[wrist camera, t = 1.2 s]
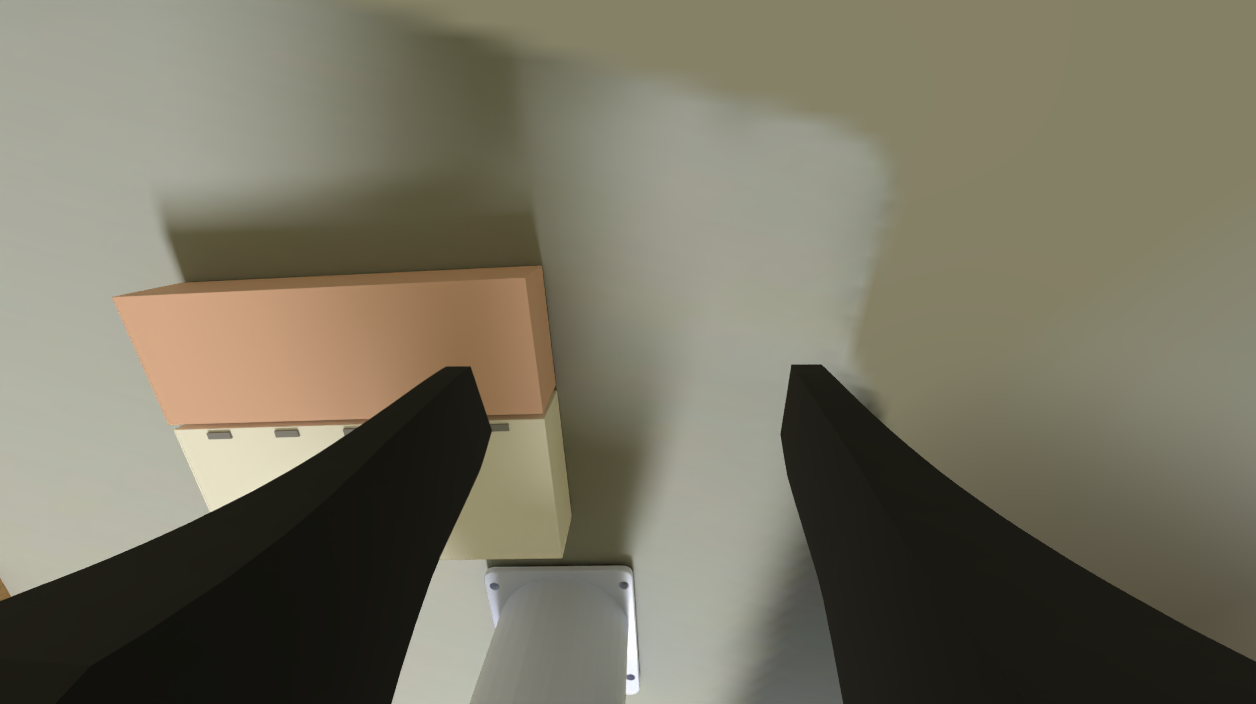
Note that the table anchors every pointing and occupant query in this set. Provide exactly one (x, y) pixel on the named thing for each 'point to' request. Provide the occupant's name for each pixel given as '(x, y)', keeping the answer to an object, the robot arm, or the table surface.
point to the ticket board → (493, 513)
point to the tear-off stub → (340, 342)
